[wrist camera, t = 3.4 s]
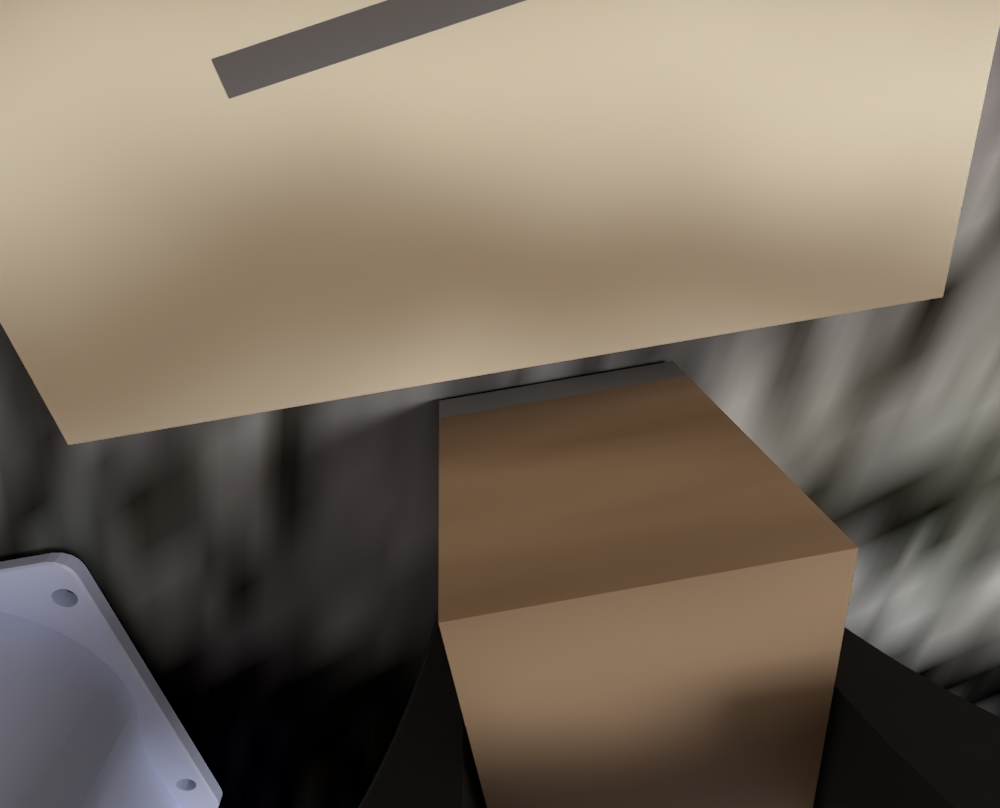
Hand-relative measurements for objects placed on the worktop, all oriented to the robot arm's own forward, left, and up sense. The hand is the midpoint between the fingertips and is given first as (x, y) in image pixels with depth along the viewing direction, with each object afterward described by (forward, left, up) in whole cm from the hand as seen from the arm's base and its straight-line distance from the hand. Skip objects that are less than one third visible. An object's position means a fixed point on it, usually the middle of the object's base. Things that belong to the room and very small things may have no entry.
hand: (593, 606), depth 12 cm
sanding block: (0, 0, -2) cm, 2 cm away
